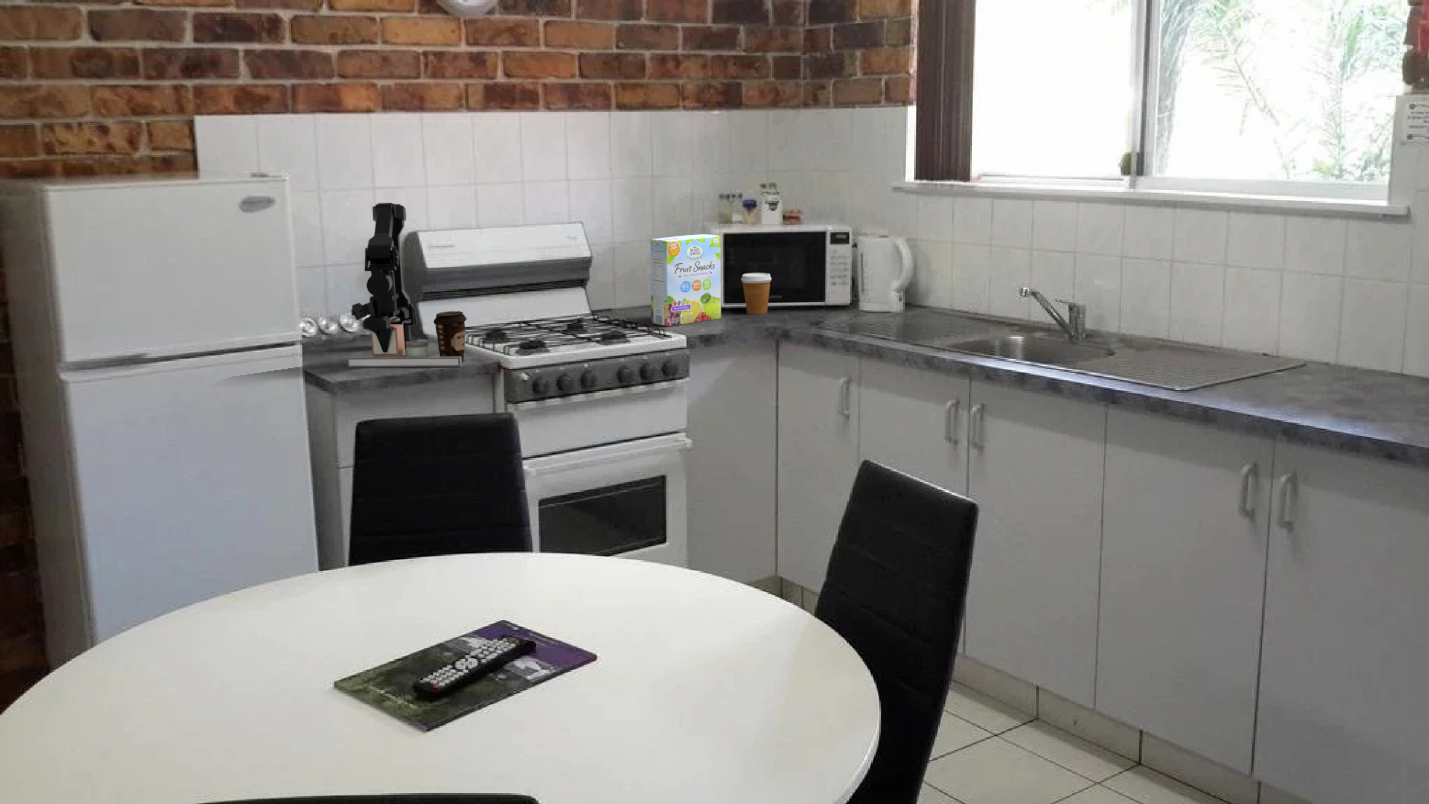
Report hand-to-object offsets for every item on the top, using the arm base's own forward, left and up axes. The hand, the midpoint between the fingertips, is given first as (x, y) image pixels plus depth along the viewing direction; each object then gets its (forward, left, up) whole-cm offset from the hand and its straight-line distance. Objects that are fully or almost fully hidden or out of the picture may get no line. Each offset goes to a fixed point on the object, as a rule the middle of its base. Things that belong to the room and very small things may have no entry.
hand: (388, 350), depth 354 cm
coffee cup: (-2, +17, -4) cm, 17 cm away
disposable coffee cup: (-81, +91, -4) cm, 121 cm away
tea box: (0, 0, -2) cm, 2 cm away
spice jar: (+1, +8, -4) cm, 9 cm away
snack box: (-65, +71, -4) cm, 96 cm away
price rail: (+4, +6, -4) cm, 8 cm away
